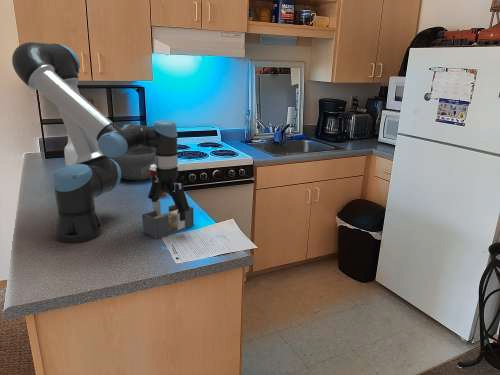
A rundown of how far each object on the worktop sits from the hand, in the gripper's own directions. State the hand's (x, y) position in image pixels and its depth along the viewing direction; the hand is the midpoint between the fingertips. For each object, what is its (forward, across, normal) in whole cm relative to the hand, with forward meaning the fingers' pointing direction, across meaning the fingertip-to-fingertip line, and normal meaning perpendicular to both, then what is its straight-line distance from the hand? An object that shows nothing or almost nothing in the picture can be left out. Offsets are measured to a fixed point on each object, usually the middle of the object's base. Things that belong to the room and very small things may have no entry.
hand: (168, 223), depth 139 cm
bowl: (+3, +62, -28) cm, 68 cm away
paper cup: (+2, +32, -20) cm, 38 cm away
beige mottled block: (+2, 0, 0) cm, 2 cm away
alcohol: (+3, +69, -1) cm, 69 cm away
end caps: (+2, 0, 0) cm, 2 cm away
